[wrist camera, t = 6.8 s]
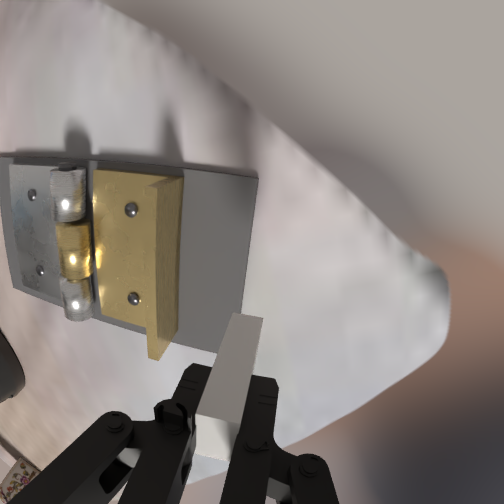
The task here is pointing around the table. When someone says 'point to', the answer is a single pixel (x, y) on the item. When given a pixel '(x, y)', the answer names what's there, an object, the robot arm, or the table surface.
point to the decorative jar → (17, 479)
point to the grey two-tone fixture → (191, 246)
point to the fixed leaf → (49, 230)
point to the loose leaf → (131, 250)
